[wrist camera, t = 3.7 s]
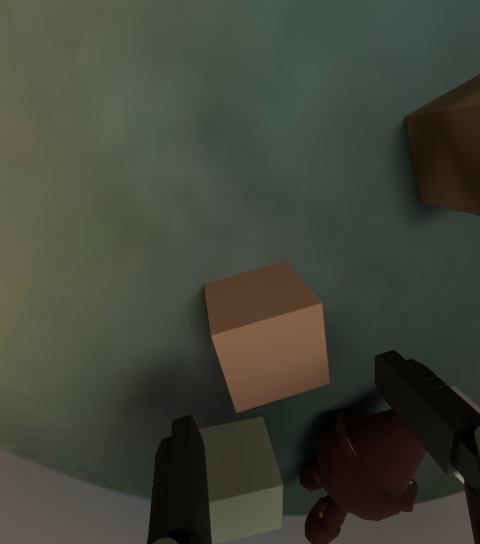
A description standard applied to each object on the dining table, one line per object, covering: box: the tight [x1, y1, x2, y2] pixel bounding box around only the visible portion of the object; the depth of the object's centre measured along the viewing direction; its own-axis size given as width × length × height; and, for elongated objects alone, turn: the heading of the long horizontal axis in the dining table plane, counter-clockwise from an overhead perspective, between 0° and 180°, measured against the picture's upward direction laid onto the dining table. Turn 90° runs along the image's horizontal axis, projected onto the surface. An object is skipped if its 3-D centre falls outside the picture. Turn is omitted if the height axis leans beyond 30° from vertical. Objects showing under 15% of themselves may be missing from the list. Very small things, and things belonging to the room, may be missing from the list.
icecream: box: [299, 409, 427, 544], centre depth 21 cm, size 7×7×15 cm
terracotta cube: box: [204, 262, 330, 413], centre depth 15 cm, size 5×5×5 cm
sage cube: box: [199, 417, 283, 544], centre depth 20 cm, size 5×5×5 cm
